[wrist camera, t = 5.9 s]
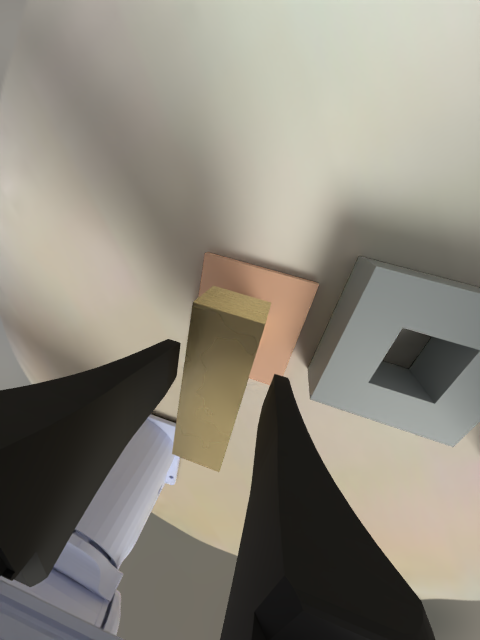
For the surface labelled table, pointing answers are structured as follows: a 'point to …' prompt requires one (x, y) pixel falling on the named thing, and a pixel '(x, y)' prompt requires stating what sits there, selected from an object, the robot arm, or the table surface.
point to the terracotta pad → (285, 311)
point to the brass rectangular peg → (216, 372)
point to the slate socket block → (378, 336)
